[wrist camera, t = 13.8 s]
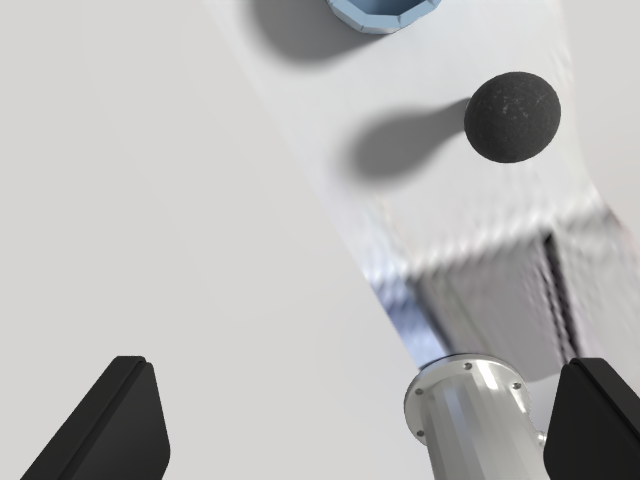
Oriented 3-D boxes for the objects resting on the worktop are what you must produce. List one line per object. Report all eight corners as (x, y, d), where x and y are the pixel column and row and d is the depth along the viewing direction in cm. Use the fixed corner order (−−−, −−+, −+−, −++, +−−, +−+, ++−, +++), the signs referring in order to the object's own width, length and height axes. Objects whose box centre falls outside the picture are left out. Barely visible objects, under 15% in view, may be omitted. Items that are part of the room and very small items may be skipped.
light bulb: (429, 127, 35) (461, 149, 26) (464, 58, 33) (513, 55, 24) (490, 155, 36) (542, 186, 26) (528, 88, 34) (600, 97, 24)
